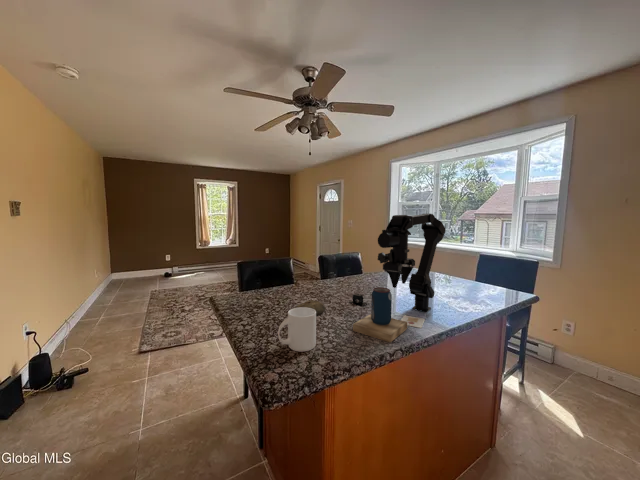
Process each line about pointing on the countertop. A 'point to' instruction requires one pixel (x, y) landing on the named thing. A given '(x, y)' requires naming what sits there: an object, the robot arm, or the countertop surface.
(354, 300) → the black angular block
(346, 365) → the countertop surface
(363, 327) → the oak slab
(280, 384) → the countertop surface
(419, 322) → the page
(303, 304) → the bread roll
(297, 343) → the mug
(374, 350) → the countertop surface
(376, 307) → the soda can
